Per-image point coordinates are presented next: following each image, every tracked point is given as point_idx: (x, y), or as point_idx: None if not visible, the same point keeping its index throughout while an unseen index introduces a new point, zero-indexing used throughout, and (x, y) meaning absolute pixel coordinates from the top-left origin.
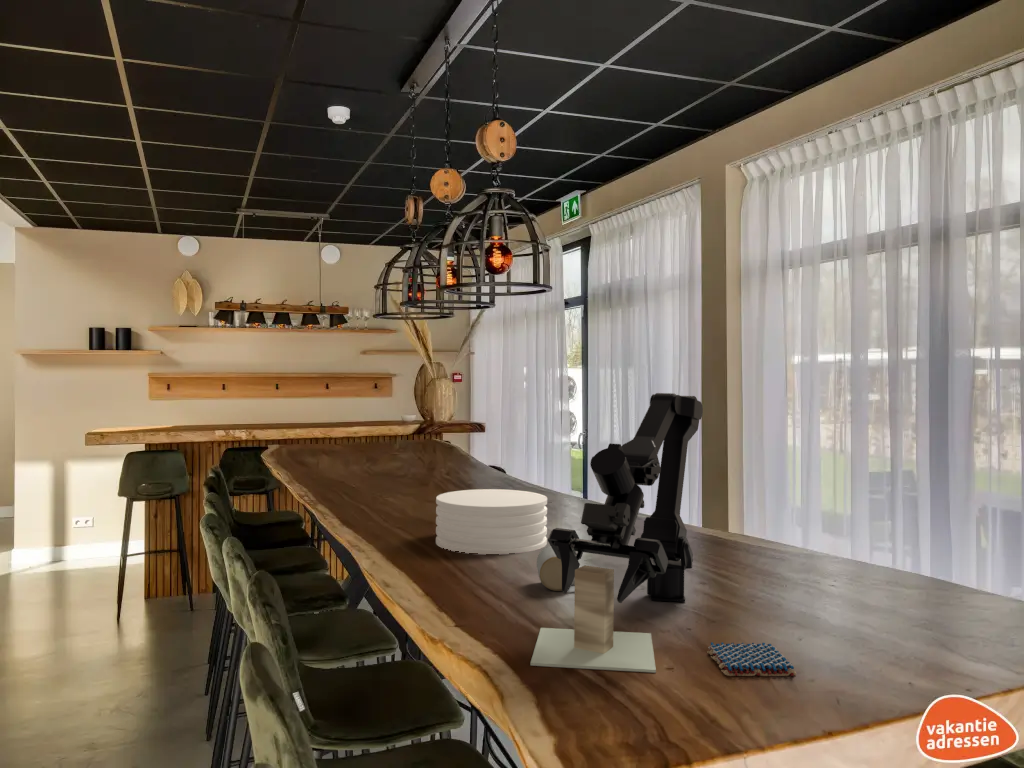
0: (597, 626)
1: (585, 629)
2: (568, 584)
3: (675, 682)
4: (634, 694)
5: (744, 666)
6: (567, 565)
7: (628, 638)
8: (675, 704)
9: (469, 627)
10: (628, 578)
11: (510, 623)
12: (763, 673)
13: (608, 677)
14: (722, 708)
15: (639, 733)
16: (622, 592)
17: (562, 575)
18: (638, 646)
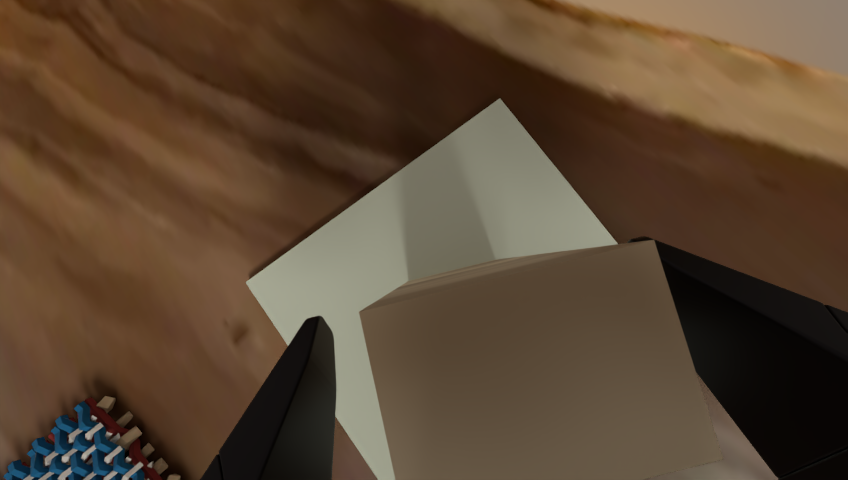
0: (427, 278)
1: (470, 267)
2: None
3: (185, 264)
4: (220, 141)
5: (52, 448)
6: (838, 345)
7: None
8: (128, 160)
9: (831, 189)
10: (226, 455)
11: None
12: (23, 463)
13: (318, 177)
14: (42, 213)
15: (119, 5)
16: (287, 351)
17: (749, 278)
18: (374, 399)
